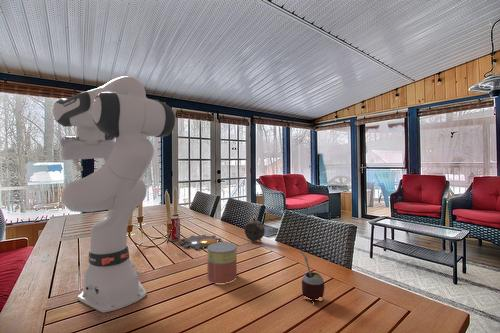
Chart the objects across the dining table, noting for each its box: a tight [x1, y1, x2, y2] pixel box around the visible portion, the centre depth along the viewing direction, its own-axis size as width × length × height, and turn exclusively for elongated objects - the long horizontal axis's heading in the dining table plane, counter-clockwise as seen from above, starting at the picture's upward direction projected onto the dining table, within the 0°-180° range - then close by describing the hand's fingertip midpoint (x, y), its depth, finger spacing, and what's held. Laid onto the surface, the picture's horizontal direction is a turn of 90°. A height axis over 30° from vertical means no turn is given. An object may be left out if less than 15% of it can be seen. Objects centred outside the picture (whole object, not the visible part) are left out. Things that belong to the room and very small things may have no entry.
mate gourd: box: [299, 248, 325, 302], centre depth 82 cm, size 8×8×15 cm
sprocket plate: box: [179, 234, 222, 250], centre depth 138 cm, size 22×22×2 cm
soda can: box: [166, 215, 181, 242], centre depth 143 cm, size 7×7×13 cm
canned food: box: [206, 241, 238, 283], centre depth 97 cm, size 11×11×12 cm
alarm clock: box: [244, 212, 266, 242], centre depth 139 cm, size 11×5×16 cm, turn 58°
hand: (92, 169), depth 107 cm, fingers open, 8 cm apart
